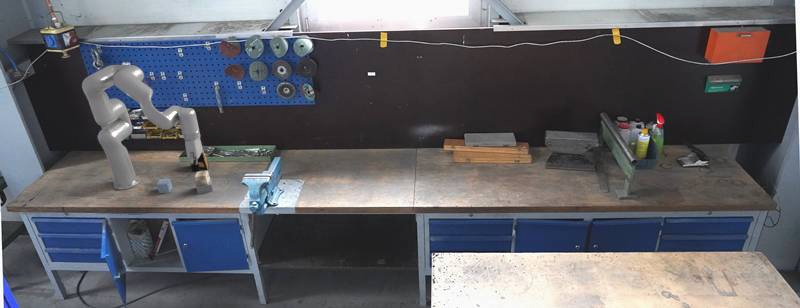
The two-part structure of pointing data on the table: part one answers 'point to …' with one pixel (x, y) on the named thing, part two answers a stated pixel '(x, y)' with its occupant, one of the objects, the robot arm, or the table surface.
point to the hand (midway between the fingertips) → (198, 166)
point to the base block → (204, 188)
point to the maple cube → (202, 178)
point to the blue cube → (164, 185)
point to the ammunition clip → (203, 163)
